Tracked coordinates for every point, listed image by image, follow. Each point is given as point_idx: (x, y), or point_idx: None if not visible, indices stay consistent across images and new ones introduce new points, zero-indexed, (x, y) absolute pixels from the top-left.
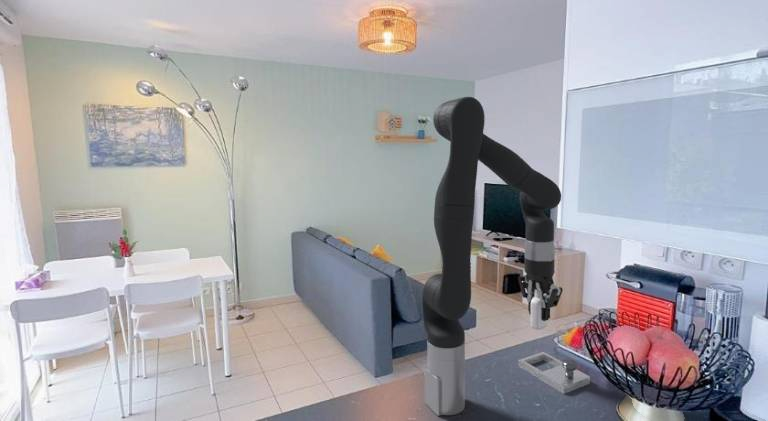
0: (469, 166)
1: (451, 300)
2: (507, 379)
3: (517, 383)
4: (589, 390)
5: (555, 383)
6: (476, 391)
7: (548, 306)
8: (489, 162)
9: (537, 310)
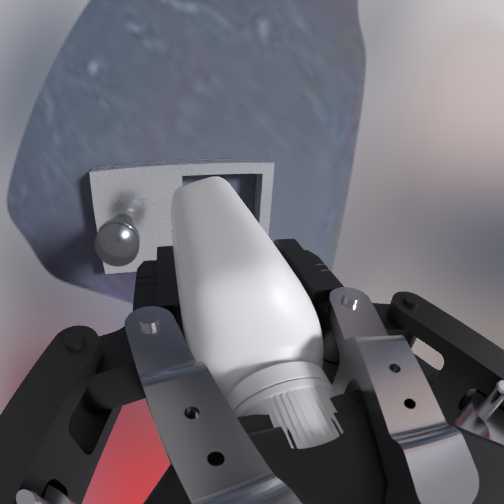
0: None
1: None
2: (231, 75)
3: (199, 85)
4: (85, 240)
5: (119, 167)
6: None
7: (72, 334)
8: None
9: (184, 250)
